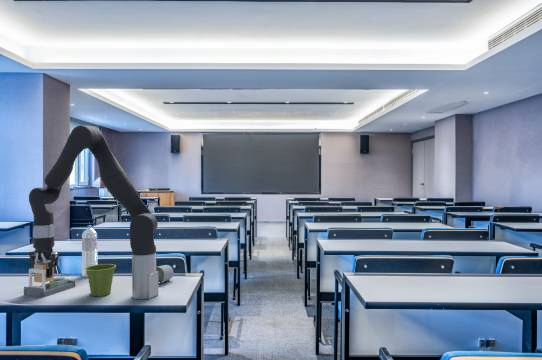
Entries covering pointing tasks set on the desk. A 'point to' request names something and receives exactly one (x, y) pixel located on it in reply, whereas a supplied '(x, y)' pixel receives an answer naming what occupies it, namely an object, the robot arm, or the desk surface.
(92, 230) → the water bottle
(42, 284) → the grey arch gate
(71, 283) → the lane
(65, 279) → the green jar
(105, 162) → the robot arm
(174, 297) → the desk surface
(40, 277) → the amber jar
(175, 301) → the desk surface
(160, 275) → the ceramic mug
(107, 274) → the plant pot
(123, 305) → the desk surface
